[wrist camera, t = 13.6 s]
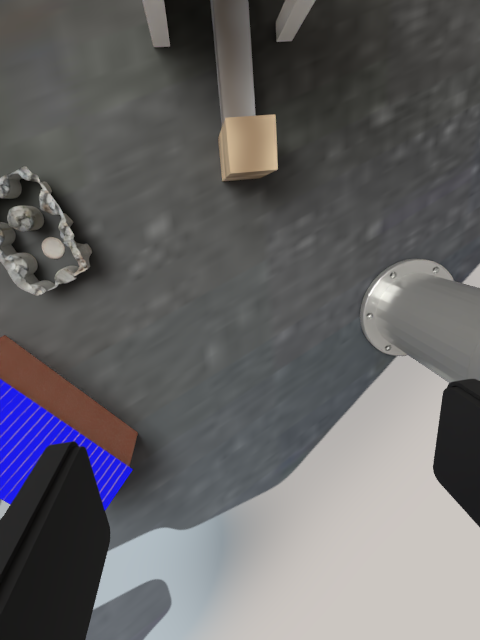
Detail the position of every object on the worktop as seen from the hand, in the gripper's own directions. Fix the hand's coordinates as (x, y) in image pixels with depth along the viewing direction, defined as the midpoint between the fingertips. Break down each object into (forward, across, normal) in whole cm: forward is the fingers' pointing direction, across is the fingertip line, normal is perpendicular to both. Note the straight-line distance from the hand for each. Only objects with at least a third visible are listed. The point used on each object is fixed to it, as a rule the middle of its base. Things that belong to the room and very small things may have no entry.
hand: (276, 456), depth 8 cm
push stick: (+30, -4, -17) cm, 35 cm away
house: (+31, +22, +16) cm, 41 cm away
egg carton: (+31, +17, -5) cm, 36 cm away
